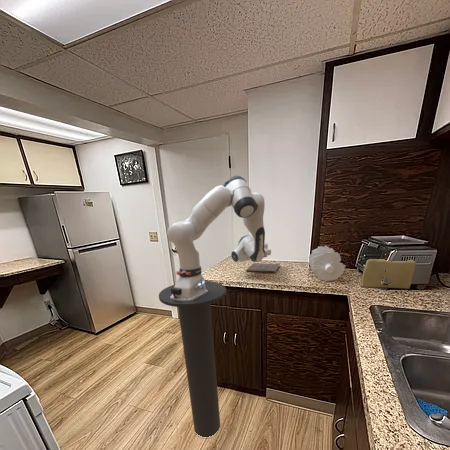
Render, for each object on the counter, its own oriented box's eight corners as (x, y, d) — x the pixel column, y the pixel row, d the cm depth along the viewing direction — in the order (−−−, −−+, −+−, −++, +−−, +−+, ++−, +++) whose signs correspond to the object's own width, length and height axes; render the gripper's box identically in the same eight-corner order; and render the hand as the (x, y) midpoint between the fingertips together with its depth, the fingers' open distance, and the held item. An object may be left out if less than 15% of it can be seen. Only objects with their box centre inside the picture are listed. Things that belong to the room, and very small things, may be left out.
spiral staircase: (319, 289, 146) (312, 274, 168) (350, 276, 140) (339, 263, 162) (308, 262, 140) (302, 251, 163) (339, 248, 135) (329, 239, 157)
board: (274, 273, 167) (274, 271, 167) (246, 271, 174) (246, 269, 173) (279, 266, 184) (279, 264, 184) (253, 265, 191) (253, 263, 191)
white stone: (260, 257, 174) (260, 244, 171) (260, 256, 178) (260, 243, 175) (267, 257, 173) (267, 244, 170) (267, 255, 177) (267, 243, 174)
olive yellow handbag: (364, 289, 130) (369, 261, 125) (358, 283, 139) (362, 257, 134) (410, 289, 127) (417, 261, 121) (401, 283, 136) (407, 256, 130)
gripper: (263, 249, 157) (276, 246, 166) (240, 246, 172) (254, 243, 180) (263, 259, 160) (276, 255, 168) (240, 255, 174) (254, 252, 183)
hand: (264, 249), depth 174 cm, fingers closed on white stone, 5 cm apart
